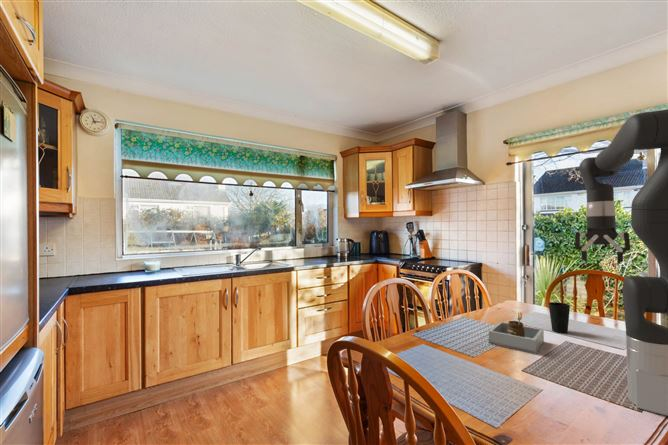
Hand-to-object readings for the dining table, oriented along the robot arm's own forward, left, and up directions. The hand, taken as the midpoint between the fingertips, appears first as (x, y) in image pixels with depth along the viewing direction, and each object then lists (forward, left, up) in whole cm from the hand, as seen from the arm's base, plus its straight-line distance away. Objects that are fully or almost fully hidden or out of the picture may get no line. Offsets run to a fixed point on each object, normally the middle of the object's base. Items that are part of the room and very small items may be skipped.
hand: (602, 262), depth 106 cm
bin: (+2, +27, -34) cm, 44 cm away
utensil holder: (+2, +27, -33) cm, 43 cm away
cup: (+29, +16, -34) cm, 48 cm away
